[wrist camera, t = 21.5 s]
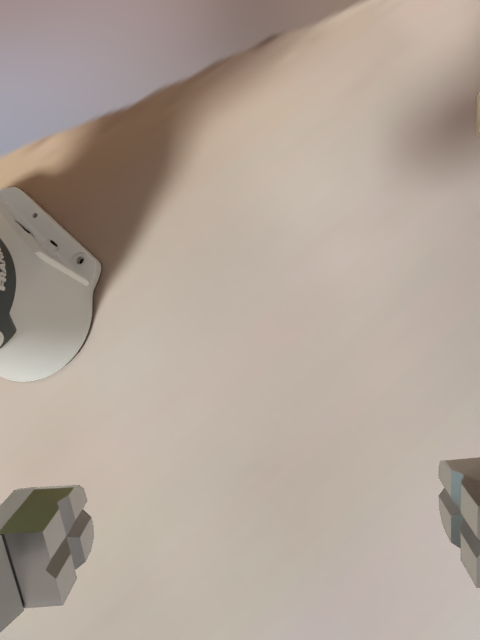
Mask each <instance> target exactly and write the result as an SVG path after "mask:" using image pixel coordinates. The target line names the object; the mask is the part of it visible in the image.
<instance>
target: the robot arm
mask: <svg viewBox="0 0 480 640" xmlns="http://www.w3.org/2000/svg"><path fill="white" fill-rule="evenodd" d="M81 259H84V261H83V263H82V264H80V260H81ZM100 273H101V264H100V262H99V261H98V260H97V259H96V258H95V257H94V256H93V255H92V254H91V253H90V252H89V251H88V250H87V249H85V248H84V247H83V246H82V245H81V244H80V243H79V242H78V241H77V240H76V239H75V238H74V237H72V236H71V235H70V234H69V233H68V232H67V231H66V230H65V229H64V228H63V227H62V226H61V225H60V224H58V223H57V222H56V221H55V220H54V219H53V218H52V217H51V216H50V215H49V214H48V213H47V212H46V211H44V210H43V209H42V208H41V207H40V206H39V205H38V204H37V203H36V202H35V201H34V200H33V199H31V198H30V197H29V196H28V195H27V194H26V193H25V192H23V191H22V190H20V189H19V188H17V187H8V188H3V189H0V377H1V378H4V379H7V380H11V381H18V382H28V381H35V380H39V379H42V378H45V377H47V376H50V375H52V374H53V373H55V372H57V371H58V370H60V369H61V368H63V367H64V366H65V365H66V364H67V363H68V362H69V361H70V360H71V359H72V358H73V357H74V356H75V355H76V353H77V352H78V351H79V349H80V348H81V346H82V344H83V342H84V341H85V338H86V336H87V334H88V331H89V328H90V324H91V319H92V299H93V291H94V288H95V286H96V284H97V281H98V279H99V276H100ZM439 479H440V481H441V482H442V484H443V486H444V487H445V488H444V489H443V491H442V492H441V493H440V495H439V510H440V515H441V520H442V524H443V527H444V529H445V532H446V534H447V536H448V538H449V540H450V541H451V543H453V544H454V545H456V546H457V547H459V548H460V549H461V561H462V563H463V565H464V567H465V568H466V570H467V572H468V574H469V575H470V577H471V579H472V581H473V582H474V584H475V586H476V588H480V457H478V458H467V459H456V460H444V461H440V464H439ZM86 503H87V498H86V494H85V491H84V488H82V487H81V486H80V485H71V486H49V487H30V488H20V489H17V490H14V491H13V492H12V493H11V494H10V496H9V497H8V498H7V499H6V500H5V501H4V502H3V503H2V504H1V505H0V632H1V631H2V630H3V629H5V628H6V627H7V626H8V625H9V624H10V623H11V622H12V621H13V620H14V619H15V618H16V617H18V616H19V615H20V614H21V613H22V612H23V611H24V608H34V607H47V606H60V605H63V604H64V602H65V600H66V599H67V597H68V595H69V593H70V591H71V589H72V587H73V585H74V583H75V581H76V579H77V576H76V572H75V570H76V569H77V568H78V567H79V566H81V565H82V564H83V563H85V562H86V560H87V558H88V556H89V554H90V552H91V548H92V543H93V538H94V529H93V522H92V518H91V516H90V515H89V514H87V513H86V512H85V511H84V510H83V508H84V506H85V504H86Z"/></svg>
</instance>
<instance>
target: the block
mask: <svg viewBox="0 0 480 640" xmlns="http://www.w3.org/2000/svg"><path fill="white" fill-rule="evenodd" d="M476 137H480V92H479V93H478V95H477V97H476Z"/></svg>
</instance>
